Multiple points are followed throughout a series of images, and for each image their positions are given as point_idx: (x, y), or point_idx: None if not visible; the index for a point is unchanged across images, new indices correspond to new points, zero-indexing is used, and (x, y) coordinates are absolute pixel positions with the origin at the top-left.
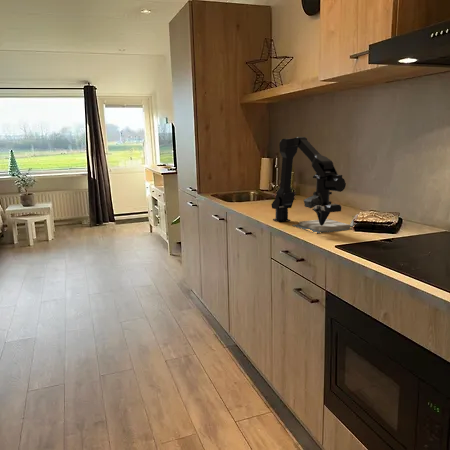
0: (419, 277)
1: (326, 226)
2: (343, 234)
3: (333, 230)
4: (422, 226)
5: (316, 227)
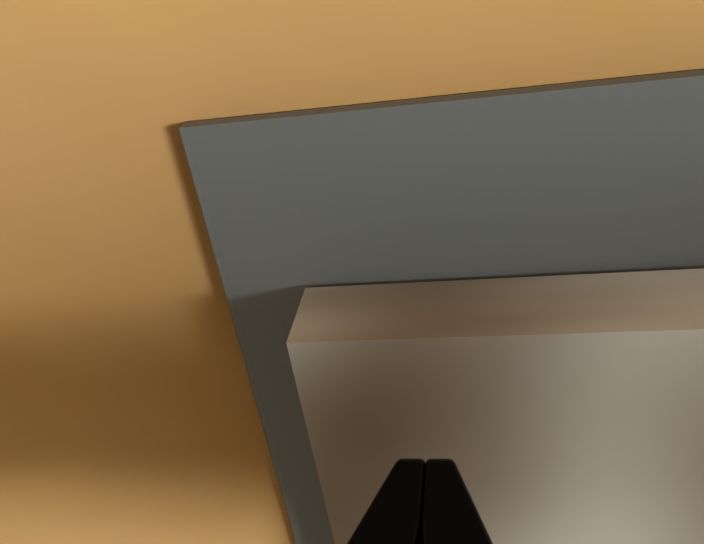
0: None
1: None
2: (56, 506)
3: (325, 530)
4: None
5: (469, 323)
